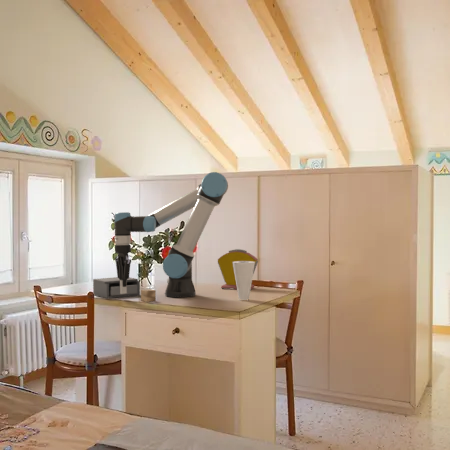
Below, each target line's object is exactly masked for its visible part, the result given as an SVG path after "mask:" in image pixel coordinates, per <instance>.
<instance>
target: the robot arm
mask: <svg viewBox="0 0 450 450" xmlns="http://www.w3.org/2000/svg"><path fill="white" fill-rule="evenodd" d="M228 189H229V182H228V181H227V178H226V177H225V176H224V175H223V174H222V173H221V172H217V171H213V172H209V173H207V174H206V175H204V177H203V178H202V180H201V183H200V184H199V185H197V187H196V188H195V189H194V190H192V191H190V192H188V193H187V194H184V195H182V196H181V197H178V198H177V199H176V200H173V201H172V202H169V203H168V204H166V205H164V206H162V207H161V208H159V209H157V210H155V211H153V212H151V213H149V214H148V215H145V216H142V215H141V216H139V215H138V216H137V215H136V216H132V215H131V213H130V212H129V211H128V212H126V211H125V212H116V213H115V214H114V244H115V245H114V253H116V254H117V257H115V258H114V260H115V266H116V274H117V275H116V277H118V278H119V280H120V294H126V293H127V279H129V277H130V271H131V263H132V259H130V258H129V257H130V256H129V253H130V254H131V252H132V245H131V243H132V237H131V233H153V232H155V231H156V229H157V228H158V227H160V226H163V225H164V224H166V223H168V222H170V221H171V220H173V219H175V218H177V217H179V216H180V215H183V214H185V213H186V212H188V211H190V210H191V209H192V211H191V213H190V215H189V218H188V219H187V220H186V221H187V222H186V224H185V226H184V228H183V230H182V232H181V234H180V236H179V239H178V240H177V243H176V244H174V245H172V246H171V247H170V249H169V250H168V254H167V256H166V257H165V258H164V260H163V261H162V269H163V272H164V274H165V275H166V276H167V277H168V278H169V281H168V283H167V284H166V285H167V286H166V287H165V288H166V289H165V293H164V294H165V295H164V296H165V297H168V298H189V297H190V298H191V297H195V296H196V295H197V294H196V288H195V286H194V282H193V261H194V260H193V259H194V257H195V255H194V251H195V248H196V247H197V245H198V242H199V240H200V238H201V236H202V234H203V232H204V229H205V227H206V225H207V223H208V221H209V219H210V217H211V215H212V213H213V211H214V208H215V207H217V206H220V203H221V201H222V199H223V197H224V196H225V195H226V193H227V192H228Z"/></svg>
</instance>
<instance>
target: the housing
mask: <svg viewBox="0 0 450 450" xmlns="http://www.w3.org/2000/svg"><path fill="white" fill-rule="evenodd" d="M138 280H139V278H134V277H130V276H129V279H127V285H137V293H134V294H124V295H114V296H111V295H109V288H110V287H115V286H120V280H119V278H118V276H115V277H105V278H104V277H103V278H93V280H92V282H93V283H92V284H93V285H92V286H93V287H92V288H93V293H94V294H95V295H94V296H95V297H100V298H103V299H116V298H124V297H136V296H141V287H140V286H141V284H140V281H138Z"/></svg>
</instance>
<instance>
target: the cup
mask: <svg viewBox="0 0 450 450" xmlns="http://www.w3.org/2000/svg"><path fill="white" fill-rule="evenodd" d="M254 265H255V262H253V261H235V262H233V268H234V274H235V280H236V286H237V289H236V291H237V296H238V297H237V298H238V300H239V299H241V300H247V299H249V300H250V295H251V290H252V289H251V285H253V284H252V283H253V277H254V274H253V271H254ZM254 272H255V271H254ZM241 300H240V301H241ZM247 301H248V300H247Z"/></svg>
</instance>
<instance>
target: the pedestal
mask: <svg viewBox="0 0 450 450" xmlns="http://www.w3.org/2000/svg"><path fill="white" fill-rule="evenodd" d="M156 294H157V293H156V289H152V288H151V289H150V288H149V289H148V288H147V289H140V297H141V299H140V301H141V302H145V303H147V302H148V303H150V302H156V301H157V300H156Z"/></svg>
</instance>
